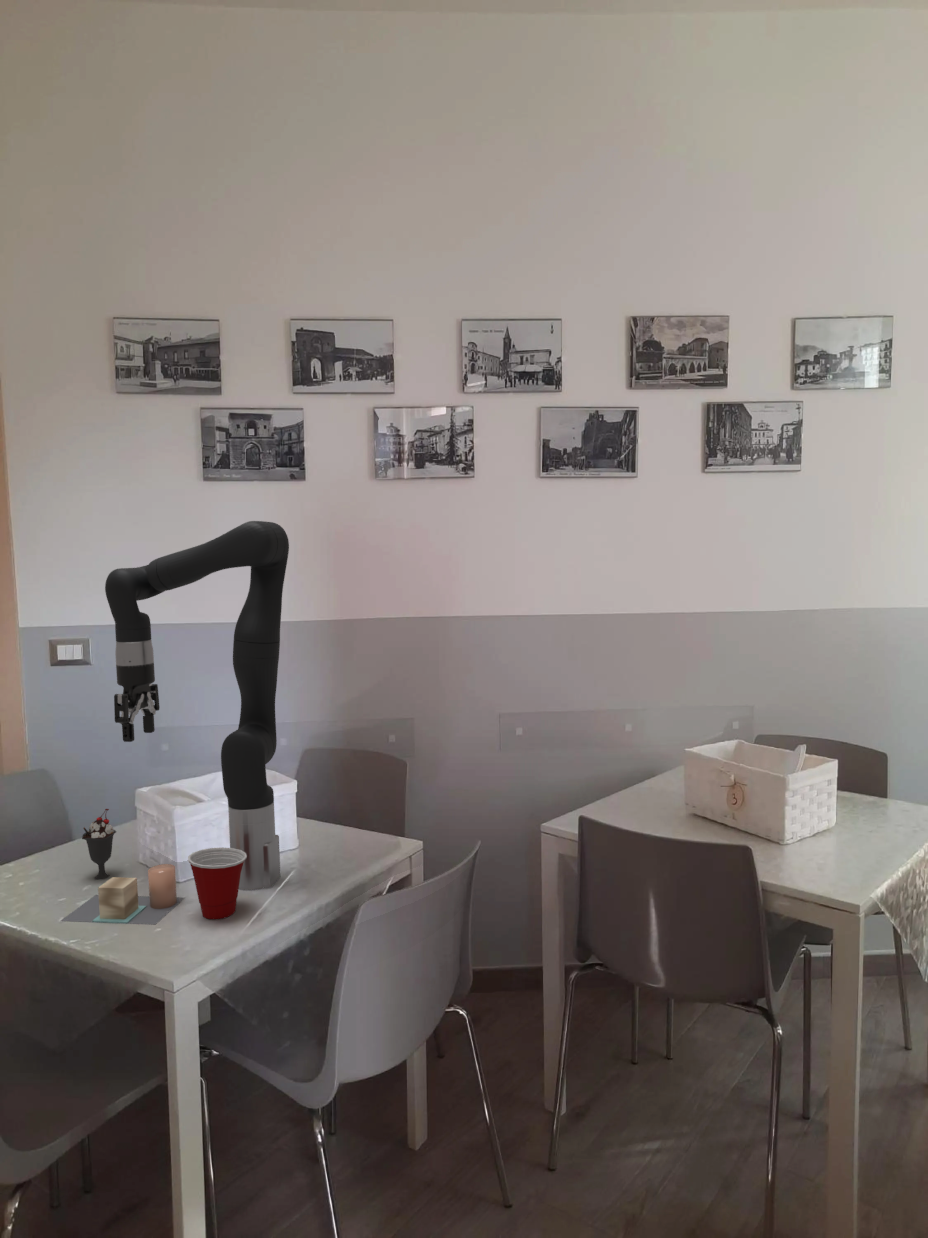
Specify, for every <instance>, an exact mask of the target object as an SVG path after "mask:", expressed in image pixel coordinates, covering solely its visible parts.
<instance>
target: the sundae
mask: <svg viewBox="0 0 928 1238" xmlns="http://www.w3.org/2000/svg"><path fill="white" fill-rule="evenodd" d="M109 810H110V809H109V808H105V809H104V812H103V813H102V814H101V816H98V817H97V818H96V819H95V820H94V821H92V823H90V825H89V826H88V830H87V829H86V827H85V826H84V827H83V828H82V829H83V830H84V833H82V836H81V839H82V840H85V841H86V844H87V848H88V854H89V857H90V860H91V861H92V862H93V863H94V864H97V865H98V866H97V867H98V873H97V874H96V875H95V877H94V880H105V879H108V878H109V877H110V874H108V873H107V872H106V870H105V869H106V868H105V866H106V865H105V864H106V863H107V862H108V861H109V860H110V858H111V857H112V852H113V851H112V850H113V841H114V835H115V834H116V833H117V831H116V830H115V829H114V827H113V826H112V825H111V824H110V820H109V819H108V818H107V813H108V811H109ZM104 814H105V819H103V818H102V817H103V816H104Z"/></svg>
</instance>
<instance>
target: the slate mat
mask: <svg viewBox="0 0 928 1238" xmlns="http://www.w3.org/2000/svg"><path fill="white" fill-rule="evenodd" d="M184 899H185V897H181V896H180V897H177V903H176V904H175V905H173V906H171V907H168V908H163V909H154V908H151V907H150V897H149V896H148V895H147V896H146V895H145V896H144V895H138V906H146V908H145V909H144V910H143V911H142V912H140V913H139V914H138V915H137V916H136V917H135V918H133V919H132V920H131V921H130V922H129V923H121V925H122V924H125V925H126V924H127V925H147V926H149V925H151V926H152V925H153V926H155V925H157V924H158V923H159V922H160V921H161V920H162V919H163V918H164V917H166V916H167V915H168V914H169V913H171V911H172V910H174V909H175V908H176V907H177V906H178V904H180V903H181V902H182V901H184ZM99 915H100V910H99V894H95V895H93V896H92V897H91V898H89V899H88V900H87V901H85V902H84V903H82V904H81V905H80V906H79V907H77V908H76V909H74V910H73V911H72V912H70V913H68V914H67V915H66V916H65V917H63V918H62V919H61V920H60V922H71V923H72V922H74V923H75V922H76V923H93V922H92V920H94V919H95V918H96V917H98V916H99ZM95 923H101V924H103V923H102V922H95Z"/></svg>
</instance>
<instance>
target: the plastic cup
mask: <svg viewBox="0 0 928 1238" xmlns="http://www.w3.org/2000/svg"><path fill="white" fill-rule="evenodd" d="M246 858H247V855H246V853H245V852H243V851H242V850H238V849H234V848H230V847H209V848H205V849H199V850H196V851H194V852H192V853H191V854H189V855H188V856H187V861H188V863H189V864H190V868H191V871H192V872H191V873H192V876H193V878H194V885H195V890H196V894H197V898H198V903H199V904H200V910H201V914H202V917H203V918H205V919H206V920H223V919H226V918H228V917H230V916H233V915H234V913H235V912H236V908H237V899H238V896H239V882H240V875H241V871H242V866H243V863H244V861H245V860H246Z"/></svg>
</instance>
